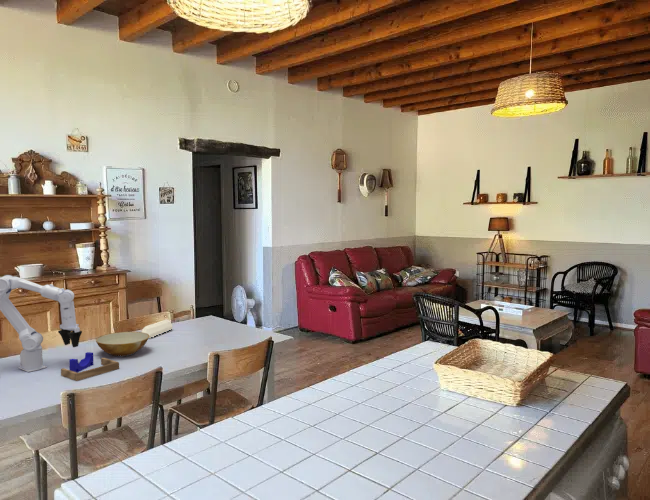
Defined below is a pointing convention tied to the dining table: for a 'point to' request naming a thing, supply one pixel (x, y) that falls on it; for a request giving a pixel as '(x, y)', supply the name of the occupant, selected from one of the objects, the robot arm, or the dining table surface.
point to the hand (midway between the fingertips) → (71, 345)
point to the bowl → (122, 342)
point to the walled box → (91, 370)
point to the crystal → (157, 328)
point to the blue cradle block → (81, 363)
